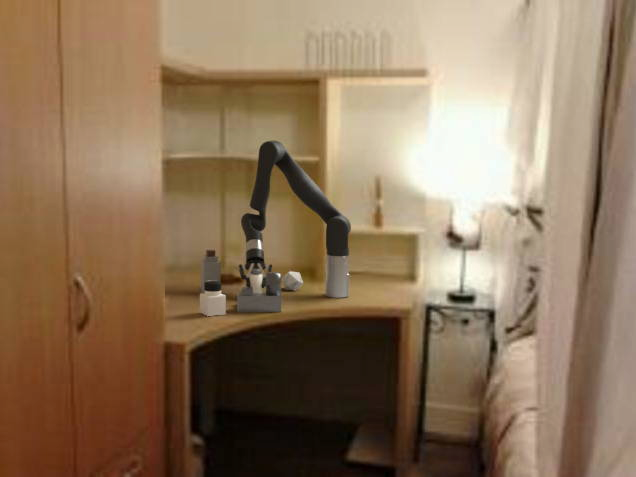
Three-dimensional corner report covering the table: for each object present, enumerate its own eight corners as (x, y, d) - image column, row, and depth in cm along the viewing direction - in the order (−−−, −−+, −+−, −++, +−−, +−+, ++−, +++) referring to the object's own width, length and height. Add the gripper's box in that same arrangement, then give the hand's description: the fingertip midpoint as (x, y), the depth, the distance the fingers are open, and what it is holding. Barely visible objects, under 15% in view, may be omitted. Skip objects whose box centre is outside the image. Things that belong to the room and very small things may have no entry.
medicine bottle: (226, 314, 233) (226, 281, 232) (207, 317, 229) (208, 283, 228) (217, 310, 239) (217, 278, 238) (199, 312, 235) (199, 280, 234)
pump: (261, 297, 264) (262, 268, 263) (262, 300, 259) (263, 270, 258) (248, 297, 263) (249, 268, 262) (249, 300, 258) (249, 270, 257)
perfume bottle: (200, 292, 271) (200, 249, 269) (216, 291, 274) (216, 249, 272) (203, 295, 265) (204, 251, 263) (220, 294, 267) (220, 251, 265)
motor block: (277, 304, 253) (278, 268, 251) (281, 311, 240) (282, 274, 238) (236, 304, 250) (236, 268, 249) (237, 312, 238) (238, 274, 236)
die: (287, 294, 276) (301, 276, 275) (274, 281, 280) (288, 264, 280) (296, 297, 283) (310, 280, 282) (283, 285, 287) (297, 268, 287)
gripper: (237, 247, 265) (238, 281, 255) (272, 247, 267) (275, 281, 257) (237, 258, 271) (237, 292, 261) (271, 258, 273) (273, 292, 263)
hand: (256, 286), depth 259 cm, fingers closed on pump, 5 cm apart
